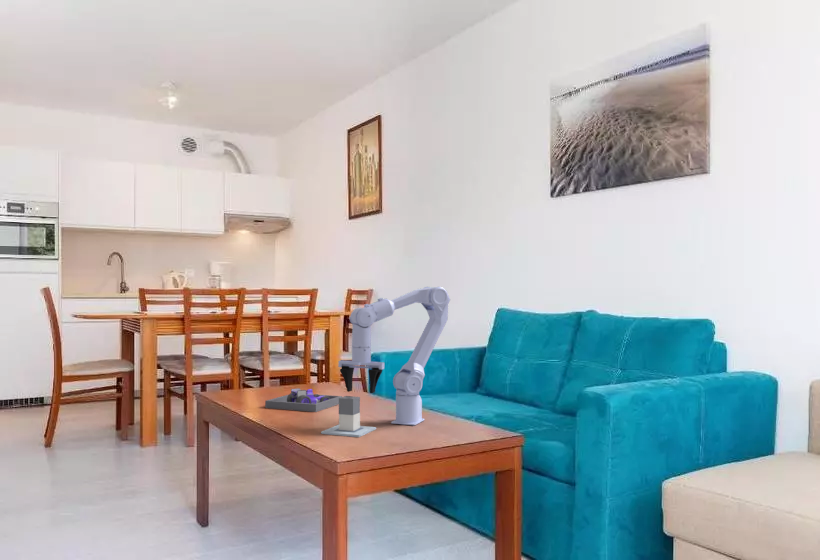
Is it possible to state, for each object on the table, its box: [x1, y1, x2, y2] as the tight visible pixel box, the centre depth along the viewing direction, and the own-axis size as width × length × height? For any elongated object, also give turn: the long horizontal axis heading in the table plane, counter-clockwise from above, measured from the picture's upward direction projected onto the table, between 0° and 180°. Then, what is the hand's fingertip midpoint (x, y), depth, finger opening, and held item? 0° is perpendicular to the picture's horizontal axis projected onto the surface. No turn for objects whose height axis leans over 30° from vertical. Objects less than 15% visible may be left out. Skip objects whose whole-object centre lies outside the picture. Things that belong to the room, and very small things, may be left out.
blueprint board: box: [320, 424, 377, 438], centre depth 192 cm, size 12×12×1 cm
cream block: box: [338, 412, 361, 431], centre depth 192 cm, size 5×5×5 cm
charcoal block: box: [338, 395, 361, 415], centre depth 192 cm, size 5×5×5 cm
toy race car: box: [287, 387, 330, 404], centre depth 236 cm, size 10×15×6 cm, turn 127°
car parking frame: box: [264, 393, 343, 413], centre depth 235 cm, size 20×20×2 cm
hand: (360, 392), depth 199 cm, fingers open, 7 cm apart
